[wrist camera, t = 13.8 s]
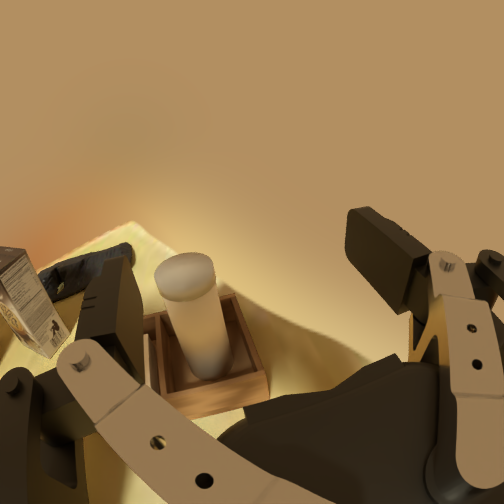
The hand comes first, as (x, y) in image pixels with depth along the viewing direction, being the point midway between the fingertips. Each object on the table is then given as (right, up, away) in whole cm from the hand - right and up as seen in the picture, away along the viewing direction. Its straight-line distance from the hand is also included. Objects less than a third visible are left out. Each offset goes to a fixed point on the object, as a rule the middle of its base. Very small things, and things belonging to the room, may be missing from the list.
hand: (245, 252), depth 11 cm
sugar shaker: (-4, -13, +23) cm, 27 cm away
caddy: (-9, -15, +23) cm, 29 cm away
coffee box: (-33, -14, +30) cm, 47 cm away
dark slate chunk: (-33, -5, +46) cm, 57 cm away
